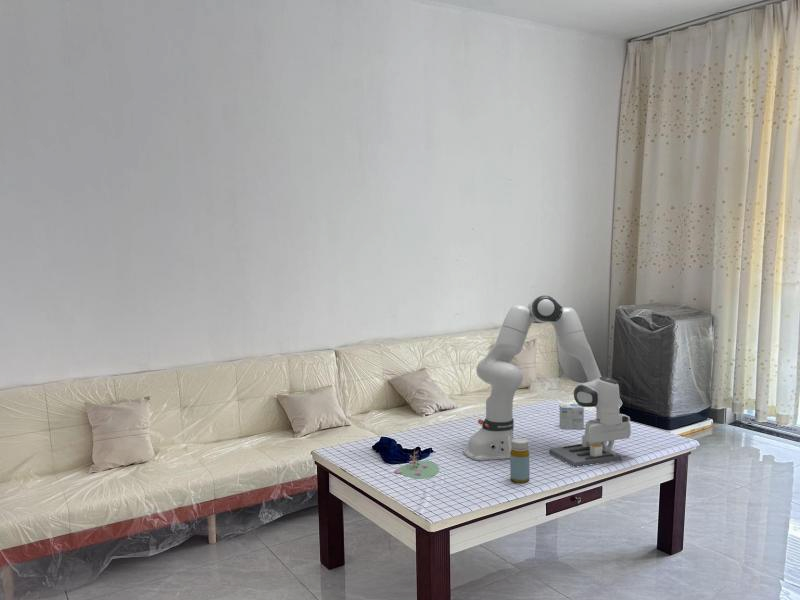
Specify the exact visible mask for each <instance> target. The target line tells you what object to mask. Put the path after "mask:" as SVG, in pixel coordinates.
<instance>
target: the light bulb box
mask: <svg viewBox="0 0 800 600" xmlns="http://www.w3.org/2000/svg"><path fill="white" fill-rule="evenodd" d="M558 405H559V427H560V429H561V430H585V415H584V413H585V409H584V408H585V407H582V406H580V405H578V404H577V403H559V404H558Z"/></svg>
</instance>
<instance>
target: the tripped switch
mask: <svg viewBox="0 0 800 600" xmlns="http://www.w3.org/2000/svg"><path fill="white" fill-rule="evenodd" d="M602 447H603V446H602V445H600V444H598V443H597V444H590V455H591V456H593V457H595V456H602Z"/></svg>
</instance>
